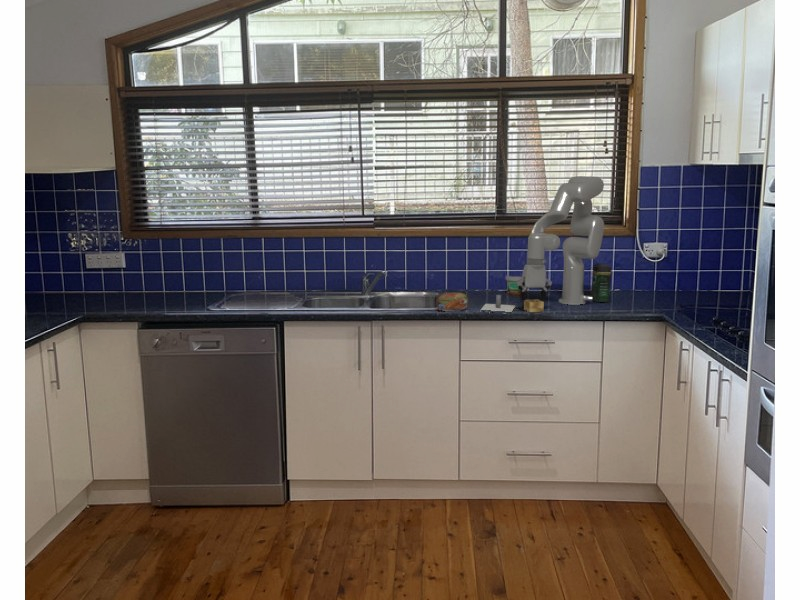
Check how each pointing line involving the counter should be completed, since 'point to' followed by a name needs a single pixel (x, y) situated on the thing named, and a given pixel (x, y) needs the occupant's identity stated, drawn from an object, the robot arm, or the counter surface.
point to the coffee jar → (601, 282)
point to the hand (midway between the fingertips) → (532, 300)
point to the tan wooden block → (533, 305)
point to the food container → (513, 285)
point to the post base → (503, 307)
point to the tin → (452, 301)
